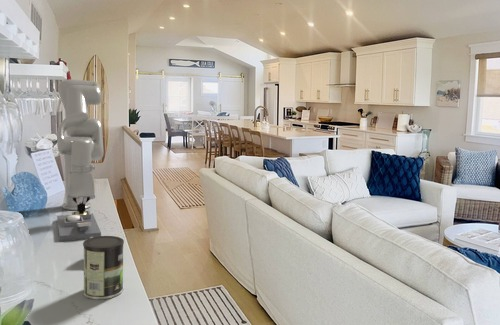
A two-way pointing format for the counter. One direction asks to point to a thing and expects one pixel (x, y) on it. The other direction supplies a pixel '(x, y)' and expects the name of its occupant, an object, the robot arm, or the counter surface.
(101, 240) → the coffee can
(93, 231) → the control panel
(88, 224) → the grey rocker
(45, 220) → the counter surface
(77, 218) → the white button
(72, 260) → the counter surface
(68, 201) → the robot arm
